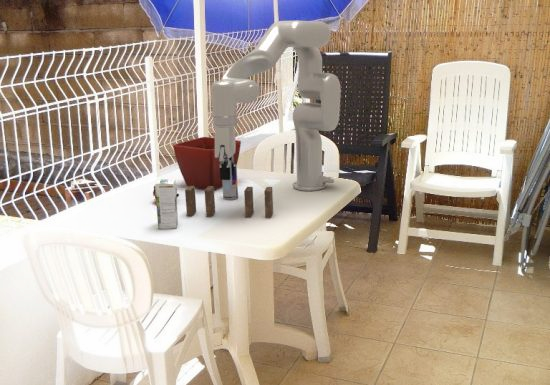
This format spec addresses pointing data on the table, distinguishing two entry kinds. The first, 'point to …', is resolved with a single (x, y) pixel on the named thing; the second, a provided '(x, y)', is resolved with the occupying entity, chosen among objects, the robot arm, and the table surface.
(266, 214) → the domino
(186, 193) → the domino
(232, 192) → the energy drink
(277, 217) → the table surface
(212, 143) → the plant pot
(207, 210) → the domino
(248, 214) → the domino
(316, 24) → the robot arm
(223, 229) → the table surface
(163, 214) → the syrup box
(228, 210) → the table surface
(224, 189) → the domino
